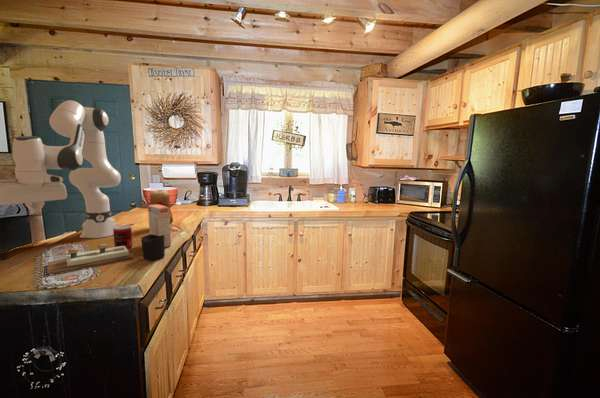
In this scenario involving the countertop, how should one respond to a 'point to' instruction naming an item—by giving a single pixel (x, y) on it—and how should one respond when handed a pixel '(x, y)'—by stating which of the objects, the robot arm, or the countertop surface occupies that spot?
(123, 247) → the panel
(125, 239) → the canned food
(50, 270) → the board
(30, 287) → the countertop surface
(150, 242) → the pen holder
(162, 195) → the butternut squash
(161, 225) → the cracker box
